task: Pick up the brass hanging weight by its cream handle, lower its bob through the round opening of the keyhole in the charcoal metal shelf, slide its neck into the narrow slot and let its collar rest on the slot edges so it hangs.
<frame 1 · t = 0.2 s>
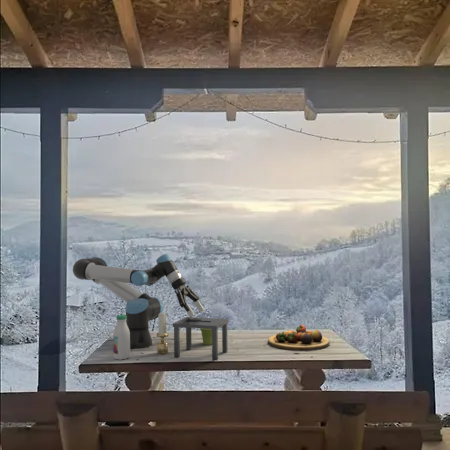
hand: (197, 313, 260), 15 cm above the table, fingers open, 13 cm apart
plant pot: (208, 344, 259), on the table
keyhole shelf: (201, 354, 237), on the table
brass hanging weight: (162, 353, 239), on the table
milk bottle: (121, 358, 232), on the table
wooden plate with food: (298, 344, 258), on the table
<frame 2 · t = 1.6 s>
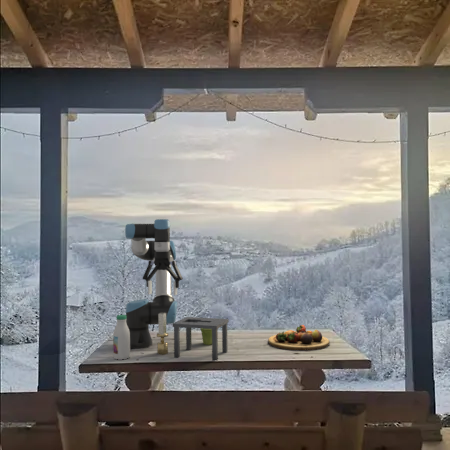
hand: (162, 294, 240), 29 cm above the table, fingers open, 13 cm apart
nothing on the table moved.
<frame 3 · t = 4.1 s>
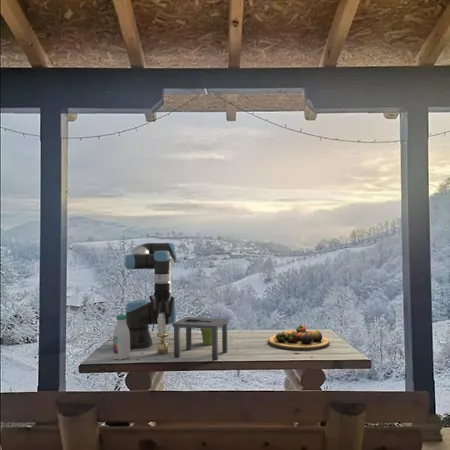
hand: (162, 330, 240), 11 cm above the table, fingers closed on brass hanging weight, 2 cm apart
brass hanging weight: (162, 353, 239), on the table, touching gripper
everything else where it was.
when the fingers open (19 cm above the table, at t = 12.1 s): brass hanging weight stays where it is, resting on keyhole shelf.
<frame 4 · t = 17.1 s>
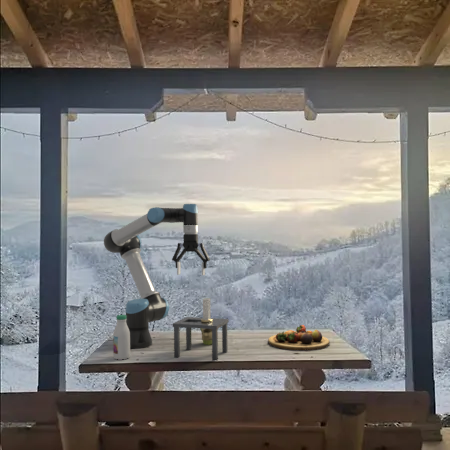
hand: (191, 274, 254), 37 cm above the table, fingers open, 13 cm apart
brass hanging weight: (207, 339, 236), point 7 cm above the table, touching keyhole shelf
everything else where it was.
at the end: brass hanging weight 0.1 cm from the target spot on the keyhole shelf, point 7.5 cm above the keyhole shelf's base; the gripper is holding nothing; brass hanging weight tilted 0° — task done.
